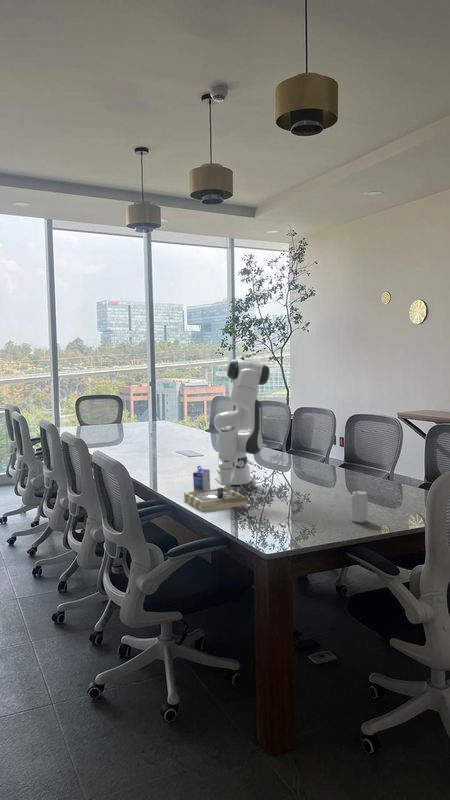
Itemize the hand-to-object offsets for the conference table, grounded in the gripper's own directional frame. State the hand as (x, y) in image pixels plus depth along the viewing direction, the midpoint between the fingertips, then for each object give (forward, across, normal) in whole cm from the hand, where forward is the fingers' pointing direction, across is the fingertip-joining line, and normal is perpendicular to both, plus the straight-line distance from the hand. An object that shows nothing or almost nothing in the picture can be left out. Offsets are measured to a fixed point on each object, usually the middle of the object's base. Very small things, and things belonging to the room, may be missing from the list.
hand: (228, 491), depth 274 cm
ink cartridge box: (+6, -16, -15) cm, 23 cm away
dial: (+4, 0, -6) cm, 7 cm away
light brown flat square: (+6, 0, -6) cm, 9 cm away
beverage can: (+6, +26, +57) cm, 63 cm away
